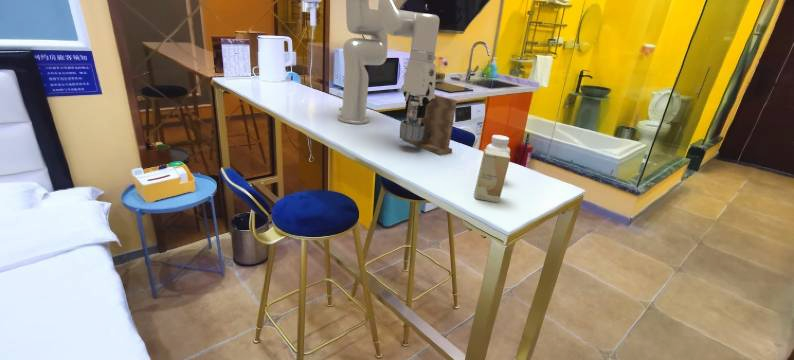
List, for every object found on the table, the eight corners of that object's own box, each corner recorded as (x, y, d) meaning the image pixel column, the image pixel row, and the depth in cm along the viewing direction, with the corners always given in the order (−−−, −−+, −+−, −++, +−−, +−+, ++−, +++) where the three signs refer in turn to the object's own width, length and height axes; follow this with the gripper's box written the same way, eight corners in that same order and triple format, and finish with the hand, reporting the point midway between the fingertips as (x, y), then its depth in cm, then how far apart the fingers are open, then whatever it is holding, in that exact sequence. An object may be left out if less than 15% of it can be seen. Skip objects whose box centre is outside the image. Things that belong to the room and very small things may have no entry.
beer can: (404, 128, 124) (408, 91, 120) (406, 125, 129) (411, 89, 124) (418, 131, 124) (423, 93, 119) (421, 127, 128) (425, 91, 124)
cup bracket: (383, 142, 132) (389, 90, 126) (414, 138, 142) (421, 89, 135) (420, 159, 120) (428, 102, 114) (451, 153, 130) (460, 100, 123)
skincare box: (474, 199, 96) (483, 153, 92) (473, 192, 100) (483, 147, 96) (500, 203, 96) (511, 157, 91) (498, 196, 100) (509, 151, 95)
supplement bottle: (481, 173, 114) (490, 132, 110) (504, 179, 112) (514, 136, 108) (477, 180, 109) (487, 137, 104) (501, 186, 107) (511, 142, 102)
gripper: (450, 61, 115) (441, 121, 122) (411, 54, 126) (405, 109, 133) (433, 61, 110) (425, 123, 117) (394, 53, 121) (388, 110, 128)
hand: (414, 115), depth 125 cm, fingers closed on beer can, 4 cm apart
